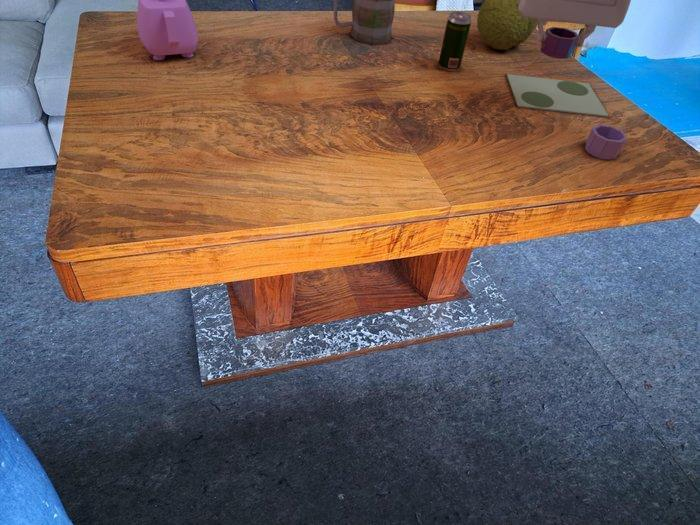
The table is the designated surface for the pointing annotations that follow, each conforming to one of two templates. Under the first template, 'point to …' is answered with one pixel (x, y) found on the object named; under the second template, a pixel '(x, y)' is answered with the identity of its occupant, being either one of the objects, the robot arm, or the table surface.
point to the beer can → (454, 41)
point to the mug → (370, 20)
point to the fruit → (503, 24)
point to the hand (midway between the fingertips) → (558, 43)
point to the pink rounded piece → (166, 28)
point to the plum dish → (559, 42)
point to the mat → (555, 95)
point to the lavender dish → (605, 142)
